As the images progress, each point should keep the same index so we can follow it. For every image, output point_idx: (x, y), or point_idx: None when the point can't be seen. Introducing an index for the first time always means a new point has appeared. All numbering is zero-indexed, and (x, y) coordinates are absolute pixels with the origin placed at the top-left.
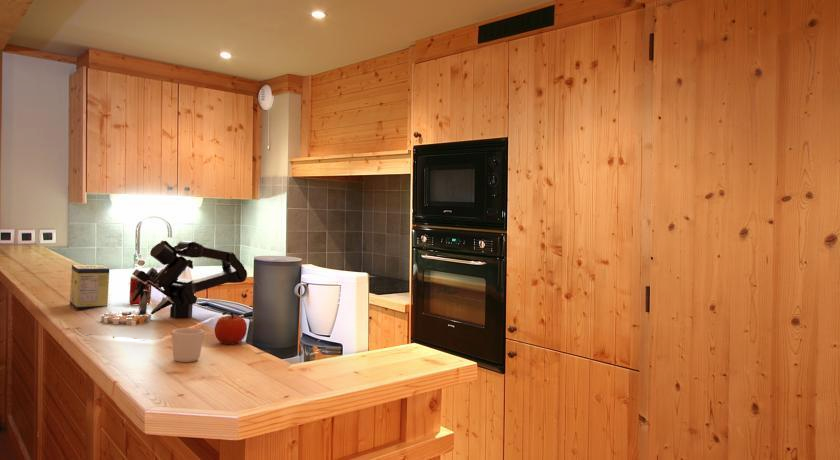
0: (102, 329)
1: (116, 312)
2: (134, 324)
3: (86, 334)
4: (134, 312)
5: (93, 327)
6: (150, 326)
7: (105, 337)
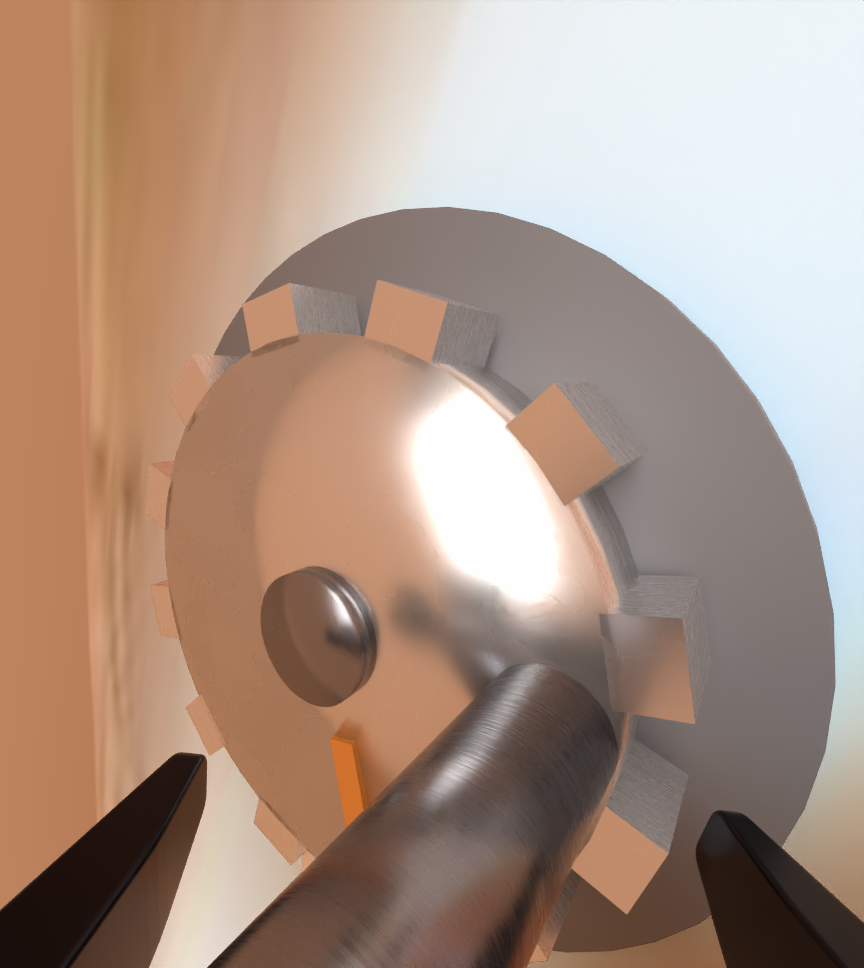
0: None
1: (286, 395)
2: None
3: (134, 698)
4: (478, 559)
5: None
6: None
7: None
